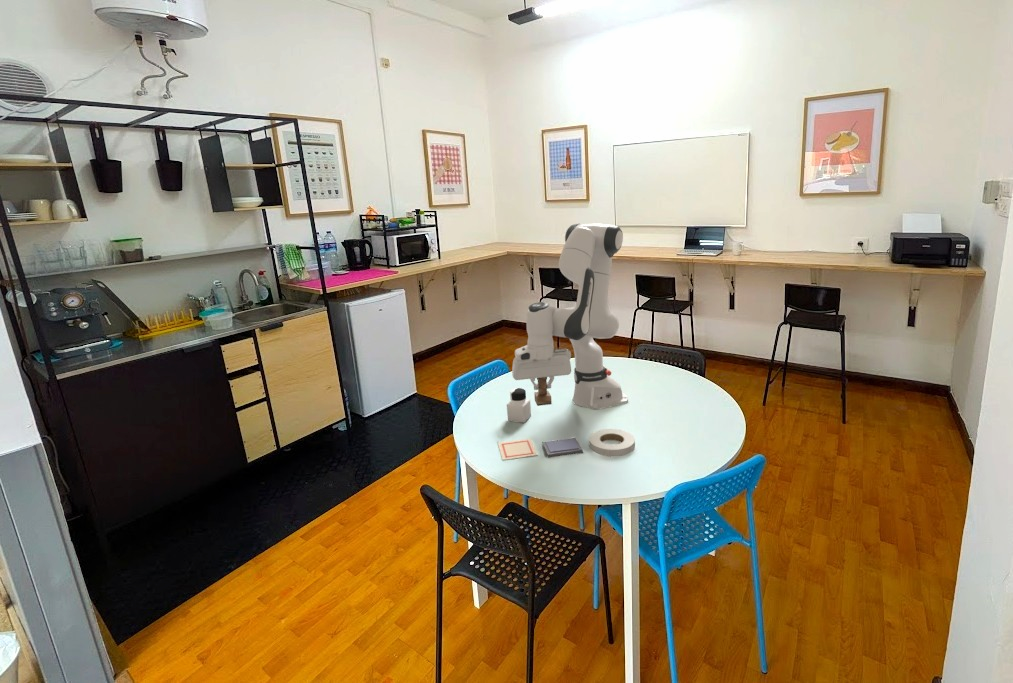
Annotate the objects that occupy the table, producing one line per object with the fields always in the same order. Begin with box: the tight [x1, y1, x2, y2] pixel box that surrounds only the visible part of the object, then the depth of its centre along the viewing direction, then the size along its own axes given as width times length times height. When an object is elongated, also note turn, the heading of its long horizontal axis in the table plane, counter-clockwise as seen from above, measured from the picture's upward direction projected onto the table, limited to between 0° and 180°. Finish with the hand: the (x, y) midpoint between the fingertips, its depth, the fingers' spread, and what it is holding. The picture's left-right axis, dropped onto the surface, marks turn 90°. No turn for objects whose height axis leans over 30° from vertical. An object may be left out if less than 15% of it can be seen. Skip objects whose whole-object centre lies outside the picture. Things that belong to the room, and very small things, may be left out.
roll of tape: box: [588, 428, 636, 458], centre depth 176 cm, size 16×15×3 cm
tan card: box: [497, 438, 539, 461], centre depth 178 cm, size 12×12×1 cm
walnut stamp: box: [534, 377, 553, 407], centre depth 178 cm, size 5×5×11 cm
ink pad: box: [541, 437, 584, 459], centre depth 176 cm, size 12×9×2 cm
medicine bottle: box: [506, 387, 532, 424], centre depth 199 cm, size 7×7×12 cm
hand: (542, 388), depth 178 cm, fingers closed on walnut stamp, 3 cm apart
